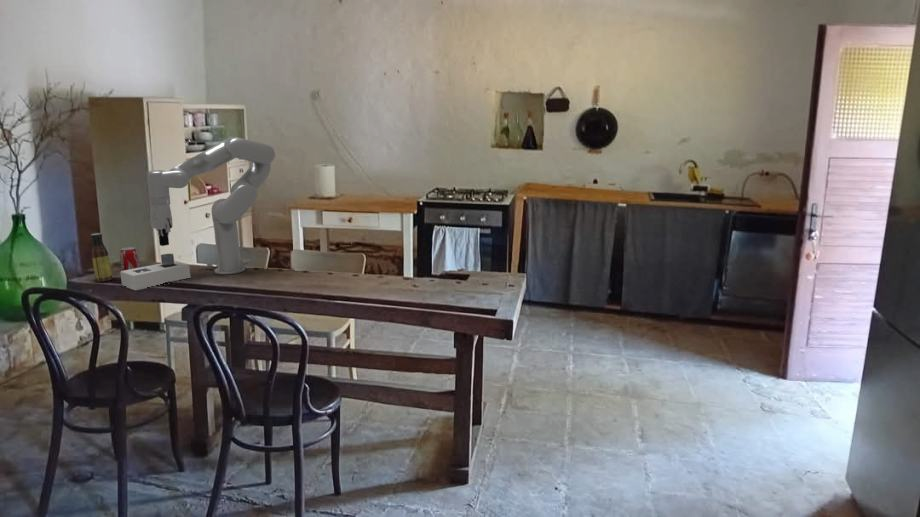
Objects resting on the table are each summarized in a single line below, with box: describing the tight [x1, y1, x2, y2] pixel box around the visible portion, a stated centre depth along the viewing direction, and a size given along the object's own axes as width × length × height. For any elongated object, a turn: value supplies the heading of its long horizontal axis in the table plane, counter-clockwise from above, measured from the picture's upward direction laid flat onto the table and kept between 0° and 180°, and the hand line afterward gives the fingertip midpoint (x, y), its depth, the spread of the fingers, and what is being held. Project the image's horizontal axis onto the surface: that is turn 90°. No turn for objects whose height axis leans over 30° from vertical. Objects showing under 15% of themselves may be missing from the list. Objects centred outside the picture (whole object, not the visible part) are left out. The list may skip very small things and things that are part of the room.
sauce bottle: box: [90, 232, 113, 283], centre depth 276 cm, size 6×6×20 cm
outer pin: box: [135, 269, 148, 273], centre depth 270 cm, size 5×5×6 cm
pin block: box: [120, 260, 192, 292], centre depth 274 cm, size 23×12×6 cm, turn 139°
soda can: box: [119, 246, 141, 271], centre depth 285 cm, size 7×7×12 cm
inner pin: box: [160, 253, 175, 268], centre depth 277 cm, size 5×5×6 cm
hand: (164, 245), depth 275 cm, fingers closed
